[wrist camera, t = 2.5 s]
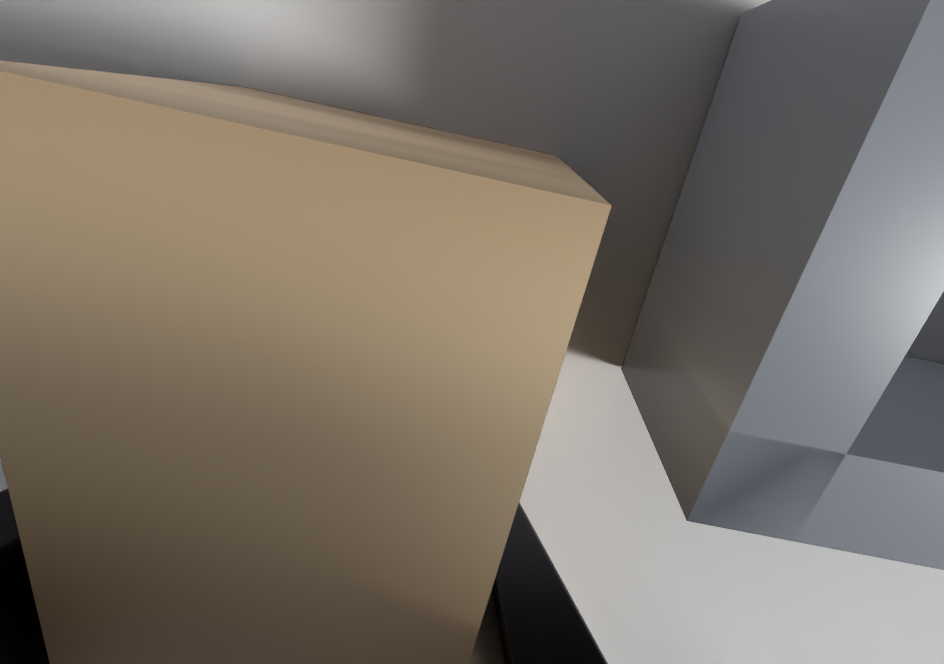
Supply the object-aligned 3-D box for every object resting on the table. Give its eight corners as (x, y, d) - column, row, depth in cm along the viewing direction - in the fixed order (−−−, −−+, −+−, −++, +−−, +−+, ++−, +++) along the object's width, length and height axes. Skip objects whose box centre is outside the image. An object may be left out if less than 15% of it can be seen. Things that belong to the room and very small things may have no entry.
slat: (429, 645, 10) (385, 929, 7) (243, 606, 10) (98, 871, 7) (555, 154, 6) (611, 205, 3) (253, 87, 6) (-97, 48, 3)
